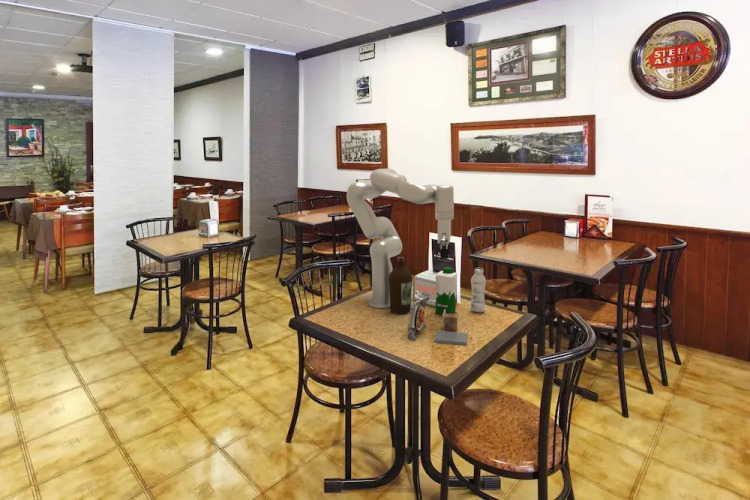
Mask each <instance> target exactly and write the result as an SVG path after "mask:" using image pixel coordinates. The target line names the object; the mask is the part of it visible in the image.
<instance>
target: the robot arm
mask: <svg viewBox="0 0 750 500" xmlns="http://www.w3.org/2000/svg"><path fill="white" fill-rule="evenodd" d="M386 192H389V193H392V194H395V195H397V196H398V197H399V198H401V199H402V200H405V201H408V202H410V203H414V204H417V205H424V204H431V203H434V205H435V206H434V208H435V209H434V212H435V213H434V215H435V220H437V244H440V251H439V252H440V254H439V255H440V259H443V260H444V259H445V260H447V259H449V254H450V252H451V251H450V245H451V244H450V242H451V237H452V235H451V234H452V220H454V219H455V211H454V209H455V206H454V205H455V202H454V201H455V200H454V199H455V197H454V195H455V194H454V193H455V192H454V187H453V185H450V184H443V185H442V184H440V185H437V184H423V185H418V184H415V183H412V182H409V181H408V180H407V178H406V176H405V175H404V174H403V175H402V174H399V173H397V172H396V171H395V170H394V169H392V168H377V169H374V170H373V171H372V172H371V173H370V176H369V180H357V181H355V182H353V183H352V184H350V185H349V186H348V188H347V189H346V201H347V204H348V206H349V208H350V209H351V211H352V212H353V214H354V216H355V218H356V220H357V222H358V224H359V226H360V228H361V230H362V232H363V235H364V236H365V237H366V238H367V239H368V240H369V239H371V240H373V239H376V240H374V241H373V242H372V243H371V245H370V247H369V254H370V255H369V256H370V259H371V273H372V275H371V277H372V281H371V284H372V285H371V287H372V290H371V291H372V292H371V293H372V294H363V295H364V296H363V299H364V300H365V301H369V304H368V305H369V307H371V308H375V309H383V310H384V309H390V294H389V275H390V273H391V271H392V270H393V264H392V262H391V258H393V257H397V256H398V255H400V254H401V253H402V251H403V243H402V240H401V238H400V236H399V234H398V232H397V230H396V228H395V226H394V225H393V223H392V221H391V220H390V219H389V218H388V217H385V216H376V214H375V212H374V211H373V208H372V207H371V206H370V204H368V203H367V202H366V200H370V199H375V198H378V197H380V196H381V195H383V194H385V193H386ZM378 238H379V239H378Z"/></svg>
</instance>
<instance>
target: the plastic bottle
mask: <svg viewBox="0 0 750 500" xmlns="http://www.w3.org/2000/svg"><path fill="white" fill-rule="evenodd" d="M470 283H471V297H470V298H471V300H470V303H469V304H470V305H469V306H470V311H471V312H474V313H483V312H485V309H486V303H485V288H486V284H487V279H486V277H485V275H484V268H483V267H475V268H474V274H473V275H472V277H471V279H470Z"/></svg>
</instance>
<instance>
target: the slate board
mask: <svg viewBox="0 0 750 500" xmlns="http://www.w3.org/2000/svg"><path fill="white" fill-rule="evenodd" d="M468 335H469V333H468V332H458V331H457V332H452V331H442V330H436V331H435V336H434V339H433V343H437V344H448V345H460V346H468V337H469V336H468Z"/></svg>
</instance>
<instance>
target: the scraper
mask: <svg viewBox="0 0 750 500" xmlns="http://www.w3.org/2000/svg"><path fill="white" fill-rule="evenodd" d="M458 320H459V319H458V314H457V313H453V314H447V313H446V309H444V312H443V314H442V320H441V331H447V332H458Z"/></svg>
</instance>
